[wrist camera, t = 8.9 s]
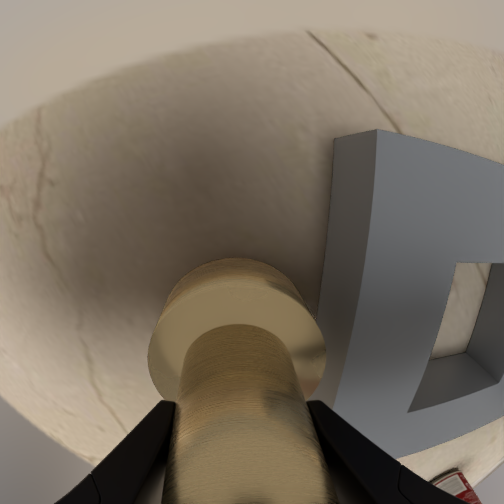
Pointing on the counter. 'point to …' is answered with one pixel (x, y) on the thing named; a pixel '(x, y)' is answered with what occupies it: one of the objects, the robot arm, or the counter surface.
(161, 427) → the robot arm
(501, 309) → the housing
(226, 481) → the stepped shaft
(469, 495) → the soda can
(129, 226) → the counter surface
